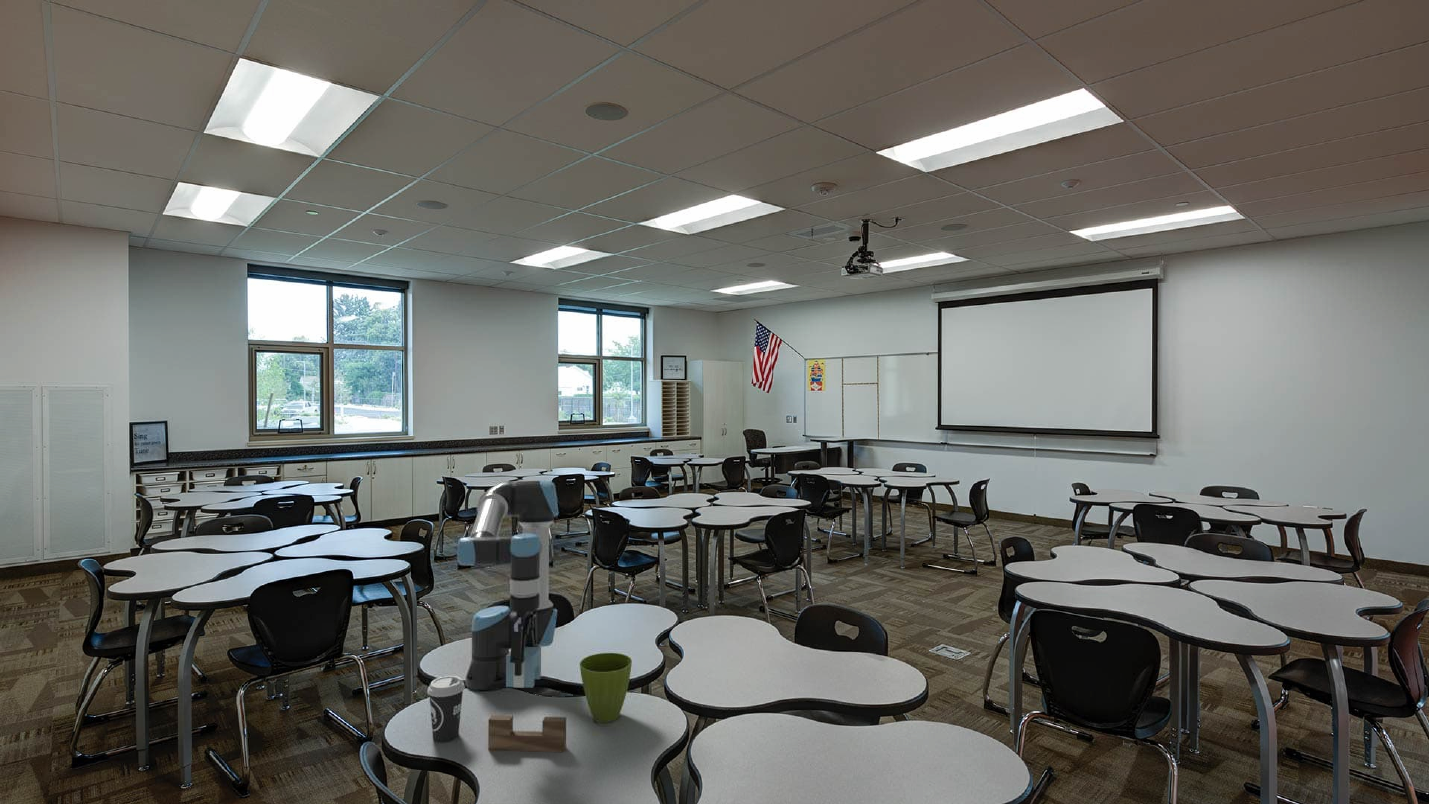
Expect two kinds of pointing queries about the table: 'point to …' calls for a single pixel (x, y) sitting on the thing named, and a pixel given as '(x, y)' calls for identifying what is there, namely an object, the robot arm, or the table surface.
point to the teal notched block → (526, 667)
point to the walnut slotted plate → (526, 735)
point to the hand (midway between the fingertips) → (523, 680)
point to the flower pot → (605, 684)
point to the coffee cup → (445, 707)
